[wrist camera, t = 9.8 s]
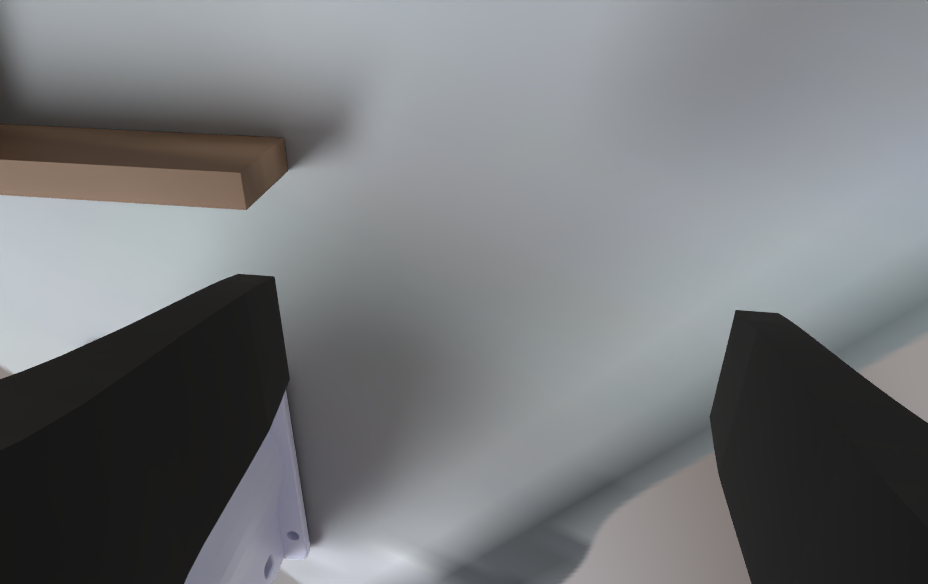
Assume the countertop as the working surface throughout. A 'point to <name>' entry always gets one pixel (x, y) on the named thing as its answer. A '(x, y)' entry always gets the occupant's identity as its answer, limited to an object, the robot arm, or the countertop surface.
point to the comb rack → (139, 166)
